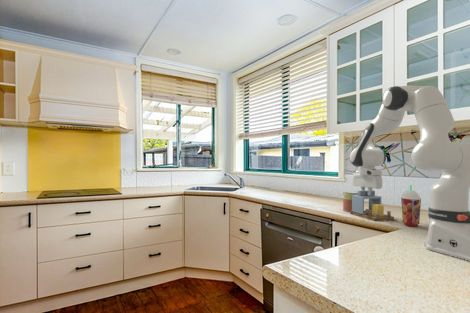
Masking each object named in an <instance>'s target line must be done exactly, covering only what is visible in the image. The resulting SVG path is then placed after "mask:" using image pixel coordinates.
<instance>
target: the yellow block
mask: <svg viewBox="0 0 470 313" xmlns="http://www.w3.org/2000/svg"><path fill="white" fill-rule="evenodd" d="M384 207H385V206H384V205H383V204H381V205H380V204H372V215H373V216H376V212H379V217H380V216H384V211H385V210H384V209H385V208H384Z"/></svg>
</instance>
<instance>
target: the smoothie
mask: <svg viewBox="0 0 470 313" xmlns="http://www.w3.org/2000/svg"><path fill="white" fill-rule="evenodd" d="M400 198H401V199H400V201H401V202H400V203H401V213H402V214H401V216H402V217H401V218H402V222H403V224H404V226H407V227H413V228H416V227H418V226H419V224H420V219H421V218H420V217H421V205H422V203H421V202H422V198H421V197H420V194H419V193H418V192H417V191H415V190H413V189H412V184H410V185H409V189H408V190H407V191H405V192H403V194H402V195H401V197H400Z"/></svg>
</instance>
